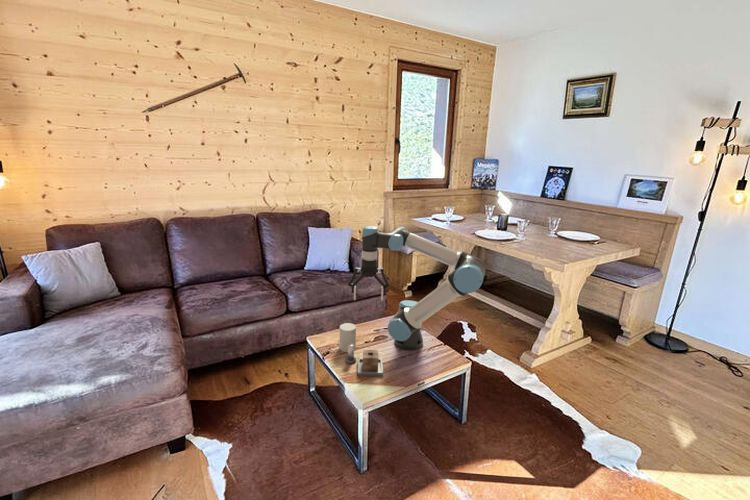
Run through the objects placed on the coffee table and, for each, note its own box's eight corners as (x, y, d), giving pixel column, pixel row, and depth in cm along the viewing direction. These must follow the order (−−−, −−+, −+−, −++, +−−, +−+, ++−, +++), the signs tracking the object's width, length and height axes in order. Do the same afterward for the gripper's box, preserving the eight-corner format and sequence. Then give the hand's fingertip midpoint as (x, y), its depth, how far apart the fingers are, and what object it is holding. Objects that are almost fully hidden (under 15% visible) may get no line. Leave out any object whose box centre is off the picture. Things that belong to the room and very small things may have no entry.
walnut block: (377, 363, 179) (377, 350, 177) (377, 371, 173) (378, 358, 171) (362, 362, 179) (363, 349, 177) (362, 371, 172) (363, 358, 170)
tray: (381, 362, 182) (381, 358, 181) (382, 376, 171) (383, 372, 170) (358, 361, 181) (358, 358, 181) (357, 375, 170) (357, 372, 170)
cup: (353, 353, 189) (353, 331, 185) (337, 351, 190) (337, 329, 187) (357, 344, 196) (357, 324, 193) (342, 342, 198) (342, 322, 194)
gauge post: (356, 358, 184) (356, 342, 182) (355, 364, 179) (356, 348, 177) (345, 358, 184) (345, 342, 182) (345, 363, 179) (345, 348, 177)
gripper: (394, 256, 185) (392, 296, 191) (343, 255, 184) (343, 295, 190) (395, 261, 178) (393, 302, 184) (343, 260, 177) (342, 301, 183)
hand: (368, 299), depth 187 cm, fingers open, 13 cm apart
